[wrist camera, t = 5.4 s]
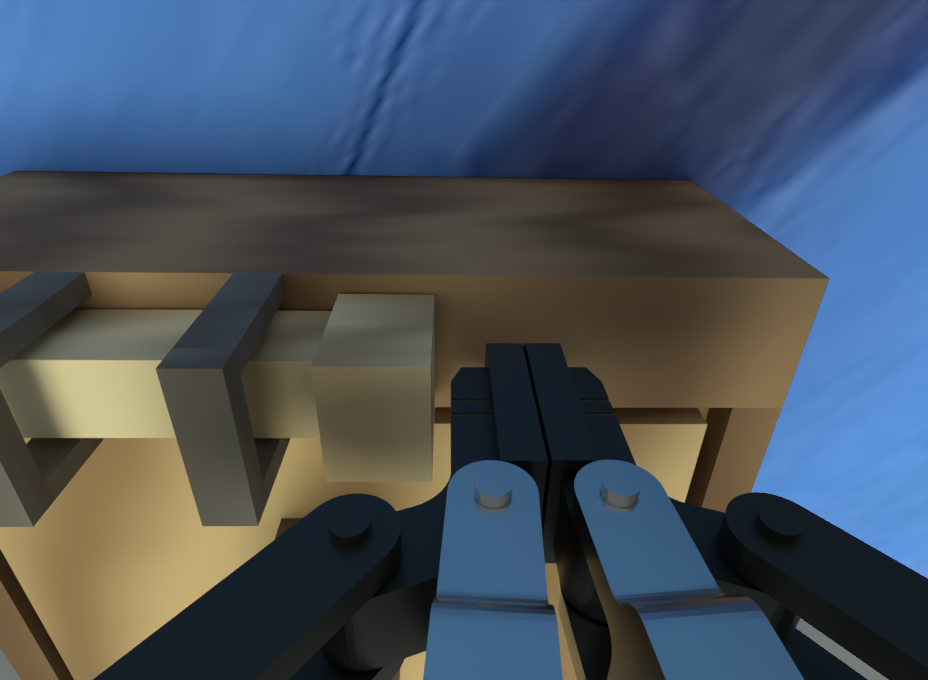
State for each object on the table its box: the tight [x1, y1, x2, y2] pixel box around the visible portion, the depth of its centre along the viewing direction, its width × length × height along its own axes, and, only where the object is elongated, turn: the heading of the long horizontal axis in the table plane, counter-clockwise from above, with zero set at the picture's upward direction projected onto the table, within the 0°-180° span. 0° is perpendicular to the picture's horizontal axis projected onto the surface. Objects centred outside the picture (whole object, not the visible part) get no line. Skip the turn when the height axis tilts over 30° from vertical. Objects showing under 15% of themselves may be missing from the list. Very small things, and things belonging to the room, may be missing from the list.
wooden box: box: [0, 171, 829, 680], centre depth 18 cm, size 22×18×12 cm
